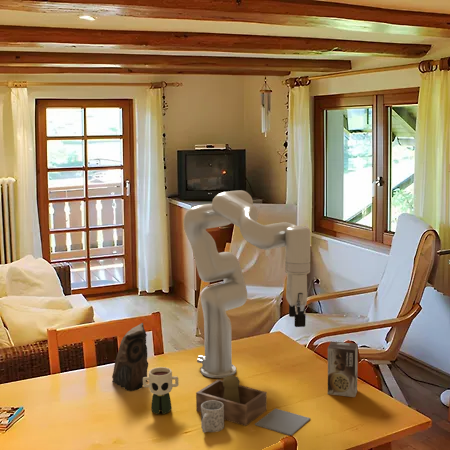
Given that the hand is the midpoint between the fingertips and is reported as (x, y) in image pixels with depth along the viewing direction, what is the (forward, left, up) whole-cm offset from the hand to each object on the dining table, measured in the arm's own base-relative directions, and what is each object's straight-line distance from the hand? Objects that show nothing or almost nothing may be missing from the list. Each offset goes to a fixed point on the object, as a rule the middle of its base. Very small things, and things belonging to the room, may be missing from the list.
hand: (296, 321), depth 196 cm
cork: (-15, -14, -28) cm, 35 cm away
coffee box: (+8, +17, -28) cm, 33 cm away
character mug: (-33, -26, -28) cm, 50 cm away
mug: (-13, -27, -28) cm, 41 cm away
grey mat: (+2, -12, -27) cm, 30 cm away
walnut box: (-15, -14, -27) cm, 34 cm away
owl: (-56, -15, -28) cm, 64 cm away
